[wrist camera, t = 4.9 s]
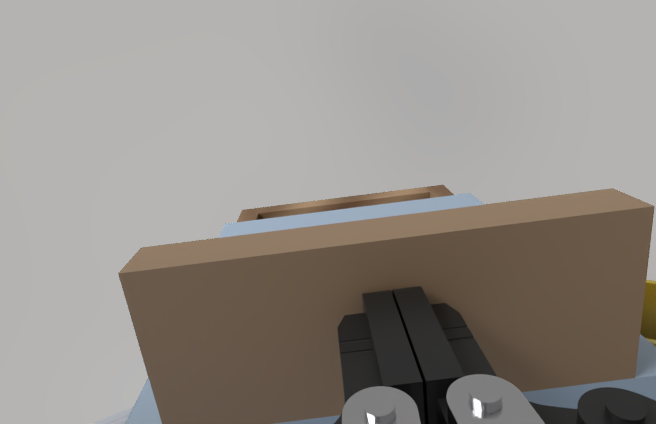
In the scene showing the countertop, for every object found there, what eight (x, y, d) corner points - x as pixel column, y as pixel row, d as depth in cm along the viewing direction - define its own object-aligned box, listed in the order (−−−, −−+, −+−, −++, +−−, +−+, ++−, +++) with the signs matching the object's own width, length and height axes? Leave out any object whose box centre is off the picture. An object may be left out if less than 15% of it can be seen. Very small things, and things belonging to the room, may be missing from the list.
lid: (124, 471, 13) (60, 281, 11) (228, 238, 30) (209, 146, 28) (680, 401, 13) (712, 199, 11) (470, 207, 30) (468, 114, 28)
